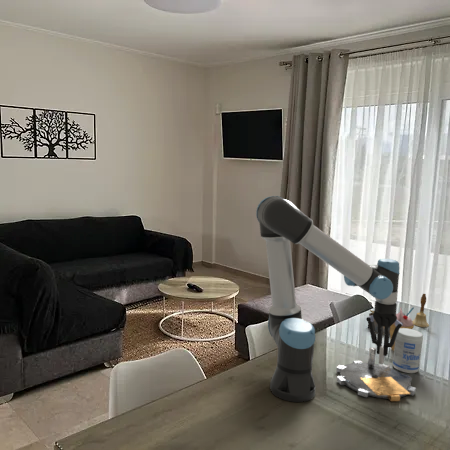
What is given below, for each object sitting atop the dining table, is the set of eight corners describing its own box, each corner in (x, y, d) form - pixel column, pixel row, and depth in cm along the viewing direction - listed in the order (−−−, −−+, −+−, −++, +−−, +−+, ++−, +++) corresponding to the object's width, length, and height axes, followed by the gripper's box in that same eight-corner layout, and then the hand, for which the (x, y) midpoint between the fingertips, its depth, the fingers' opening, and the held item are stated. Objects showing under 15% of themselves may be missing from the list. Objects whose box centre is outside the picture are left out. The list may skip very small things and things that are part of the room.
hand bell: (430, 324, 231) (433, 293, 229) (427, 328, 224) (431, 297, 222) (412, 320, 235) (416, 290, 233) (409, 324, 228) (413, 293, 226)
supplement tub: (403, 375, 170) (407, 337, 168) (387, 364, 179) (391, 328, 177) (424, 373, 173) (428, 336, 171) (407, 362, 182) (411, 327, 180)
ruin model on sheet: (367, 328, 220) (369, 309, 218) (370, 327, 222) (372, 308, 220) (388, 336, 211) (390, 316, 210) (392, 335, 213) (394, 315, 212)
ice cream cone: (408, 347, 198) (414, 303, 195) (412, 357, 187) (417, 310, 185) (382, 343, 201) (387, 299, 198) (384, 352, 190) (389, 306, 188)
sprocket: (409, 410, 144) (413, 384, 143) (325, 385, 157) (327, 361, 156) (419, 377, 168) (422, 355, 167) (345, 358, 181) (348, 337, 180)
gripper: (406, 302, 166) (401, 364, 169) (371, 296, 173) (367, 355, 176) (401, 307, 159) (396, 371, 162) (365, 300, 166) (361, 362, 169)
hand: (381, 363), depth 169 cm, fingers closed
